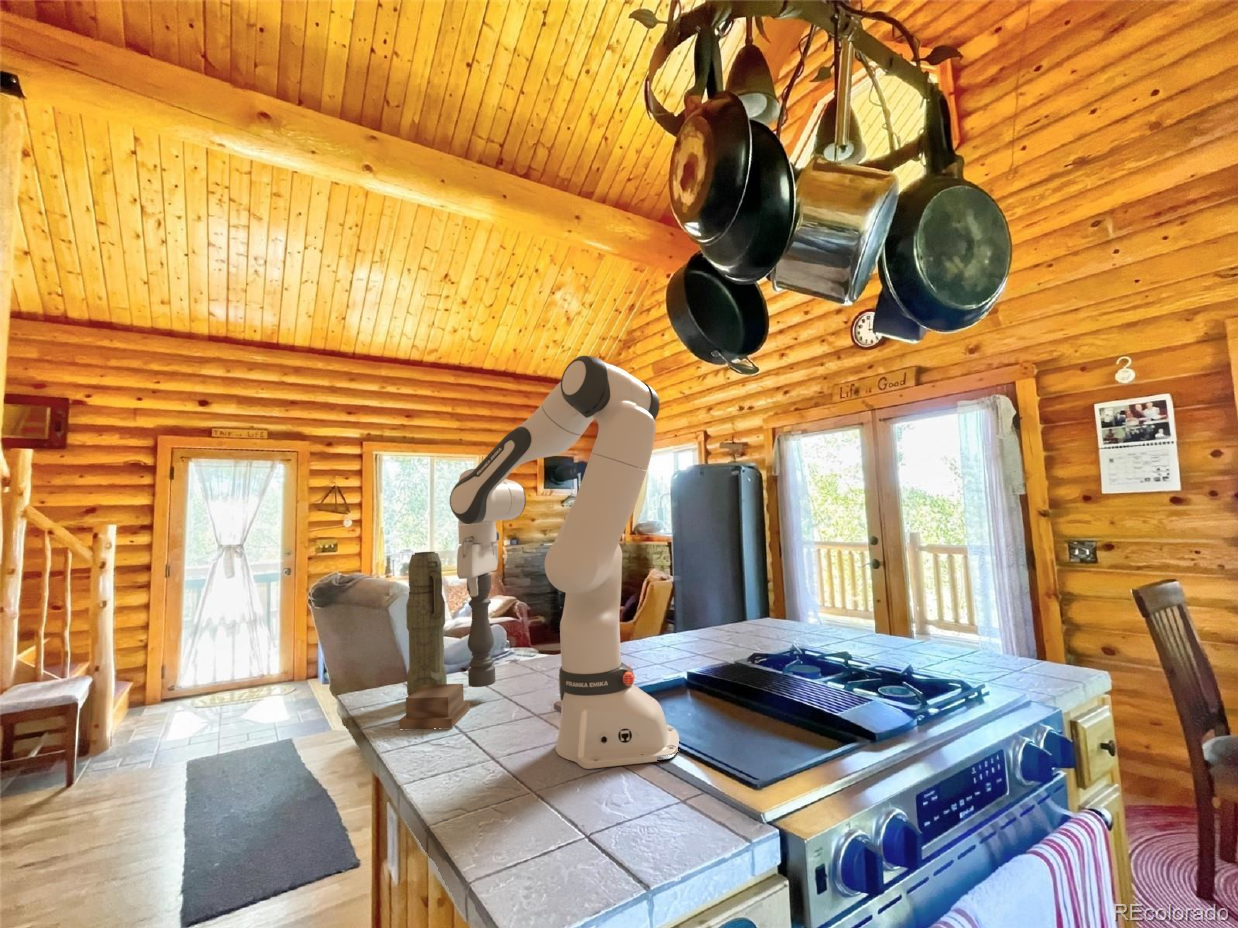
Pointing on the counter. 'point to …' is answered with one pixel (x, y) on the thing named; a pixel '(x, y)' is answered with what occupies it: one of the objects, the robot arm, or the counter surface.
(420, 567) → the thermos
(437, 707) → the walnut stand
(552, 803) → the counter surface
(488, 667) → the candle holder
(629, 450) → the robot arm
